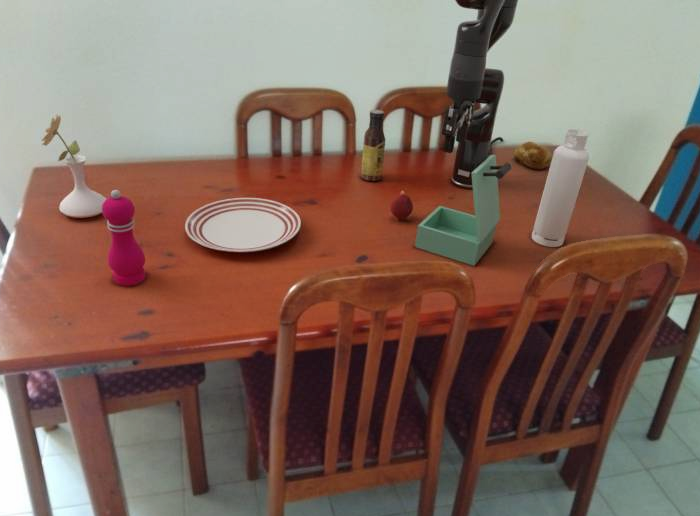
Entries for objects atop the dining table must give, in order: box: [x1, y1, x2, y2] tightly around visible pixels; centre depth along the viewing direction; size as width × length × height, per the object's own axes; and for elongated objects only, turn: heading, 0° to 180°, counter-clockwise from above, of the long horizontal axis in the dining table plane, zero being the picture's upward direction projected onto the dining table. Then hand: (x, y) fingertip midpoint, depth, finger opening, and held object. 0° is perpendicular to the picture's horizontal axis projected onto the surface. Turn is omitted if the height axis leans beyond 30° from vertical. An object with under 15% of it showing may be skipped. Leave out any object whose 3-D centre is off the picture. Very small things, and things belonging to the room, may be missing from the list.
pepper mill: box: [101, 189, 146, 287], centre depth 121 cm, size 7×7×20 cm
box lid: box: [472, 154, 512, 241], centre depth 137 cm, size 16×14×6 cm
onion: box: [389, 190, 414, 221], centre depth 156 cm, size 6×6×8 cm
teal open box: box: [414, 205, 498, 267], centre depth 147 cm, size 15×14×6 cm
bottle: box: [530, 128, 590, 248], centre depth 147 cm, size 8×8×28 cm
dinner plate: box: [184, 197, 302, 253], centre depth 145 cm, size 27×27×3 cm
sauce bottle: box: [360, 109, 386, 182], centre depth 174 cm, size 7×6×20 cm
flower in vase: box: [41, 114, 107, 219], centre depth 142 cm, size 13×11×25 cm
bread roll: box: [513, 141, 552, 170], centre depth 197 cm, size 13×10×8 cm
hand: (454, 146), depth 139 cm, fingers open, 8 cm apart
